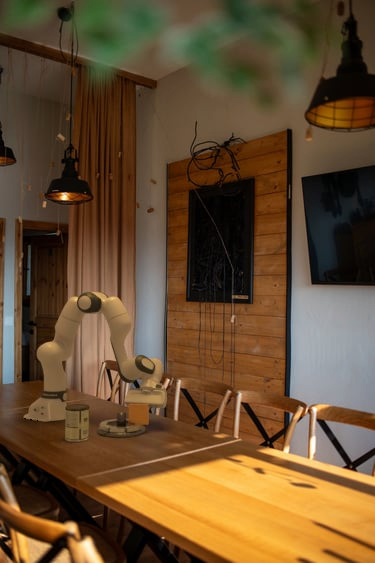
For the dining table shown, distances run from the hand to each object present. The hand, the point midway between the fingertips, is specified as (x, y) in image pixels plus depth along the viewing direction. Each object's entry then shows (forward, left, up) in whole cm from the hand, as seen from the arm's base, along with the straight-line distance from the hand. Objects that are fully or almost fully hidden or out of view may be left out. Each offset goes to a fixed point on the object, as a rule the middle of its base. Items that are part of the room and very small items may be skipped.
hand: (141, 414), depth 249 cm
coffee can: (-21, -22, -8) cm, 32 cm away
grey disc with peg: (-8, -4, -8) cm, 12 cm away
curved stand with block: (-7, -4, -6) cm, 10 cm away
